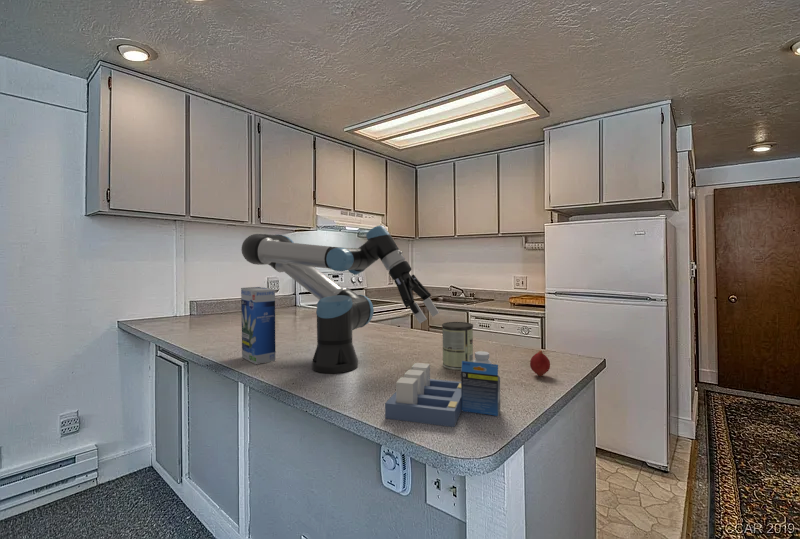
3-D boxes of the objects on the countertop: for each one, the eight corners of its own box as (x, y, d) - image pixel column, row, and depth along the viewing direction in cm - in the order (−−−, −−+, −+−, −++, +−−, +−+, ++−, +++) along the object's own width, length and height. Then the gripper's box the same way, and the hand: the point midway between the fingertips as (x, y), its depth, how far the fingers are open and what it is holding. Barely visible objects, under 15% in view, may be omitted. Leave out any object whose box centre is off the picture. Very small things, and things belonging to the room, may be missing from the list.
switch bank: (385, 418, 90) (385, 402, 90) (409, 389, 109) (409, 376, 109) (454, 427, 85) (454, 410, 85) (467, 395, 104) (467, 381, 104)
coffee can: (442, 361, 138) (442, 321, 137) (471, 361, 137) (471, 321, 136) (442, 369, 128) (442, 326, 127) (474, 370, 127) (474, 327, 126)
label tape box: (500, 410, 94) (500, 360, 94) (498, 417, 90) (498, 364, 90) (464, 405, 98) (464, 356, 97) (460, 411, 94) (460, 360, 93)
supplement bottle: (468, 385, 113) (468, 351, 112) (484, 382, 115) (484, 349, 114) (479, 391, 108) (479, 356, 107) (495, 388, 110) (495, 354, 109)
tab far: (411, 389, 103) (411, 366, 103) (415, 384, 107) (415, 362, 107) (426, 390, 102) (426, 368, 102) (430, 385, 106) (429, 363, 106)
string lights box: (241, 357, 144) (239, 287, 143) (261, 354, 150) (260, 286, 149) (256, 365, 135) (254, 290, 134) (277, 360, 140) (275, 288, 139)
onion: (526, 376, 121) (526, 350, 120) (534, 372, 125) (535, 347, 124) (545, 380, 117) (545, 353, 116) (553, 375, 121) (553, 350, 120)
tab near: (396, 407, 91) (396, 382, 91) (401, 401, 95) (401, 377, 95) (412, 409, 90) (412, 383, 90) (417, 403, 94) (417, 378, 93)
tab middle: (404, 398, 97) (404, 374, 97) (409, 392, 101) (408, 369, 101) (420, 399, 96) (420, 375, 96) (424, 394, 100) (424, 370, 100)
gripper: (390, 261, 124) (426, 318, 120) (417, 258, 147) (448, 307, 143) (373, 274, 126) (408, 330, 123) (402, 269, 149) (432, 317, 146)
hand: (430, 318), depth 133 cm, fingers open, 13 cm apart
